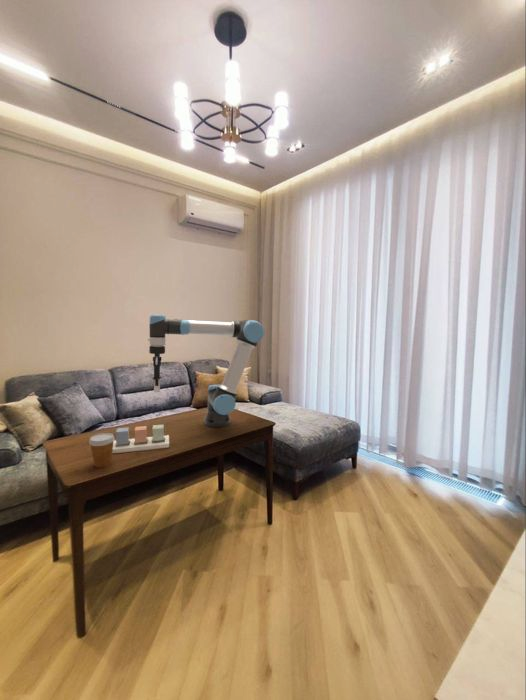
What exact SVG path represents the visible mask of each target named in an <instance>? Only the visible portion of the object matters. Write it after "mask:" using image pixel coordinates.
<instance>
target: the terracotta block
mask: <svg viewBox="0 0 526 700" xmlns="http://www.w3.org/2000/svg"><path fill="white" fill-rule="evenodd" d="M147 428H148V426H147V425H143V426H135V427H134V438H135V443H137V442H146V439H147V437H148V435H147V432H148V431H147Z"/></svg>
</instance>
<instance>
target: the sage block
mask: <svg viewBox="0 0 526 700" xmlns="http://www.w3.org/2000/svg"><path fill="white" fill-rule="evenodd" d="M164 427H165V425H164V424H155V425H154V424H153V425H152V437H153V441H157V440H164V436H165V431H164V430H165V428H164Z"/></svg>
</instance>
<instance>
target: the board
mask: <svg viewBox="0 0 526 700" xmlns="http://www.w3.org/2000/svg"><path fill="white" fill-rule="evenodd" d="M161 449H170V435H169V434H167V435H165V434H164V440H157V441H153V436H147V439H146V442H137V443H135V437H133V438H129V442H128V443H127V444H117V445H116V439H114V441H113V450H112V455H113V454H115V455H116V454H124V453H130V452H131V453H132V452H141V451H142V452H143V451H150V450H151V451H152V450H161Z"/></svg>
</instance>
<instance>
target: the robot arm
mask: <svg viewBox="0 0 526 700" xmlns="http://www.w3.org/2000/svg"><path fill="white" fill-rule="evenodd" d="M189 334H190V335H191V334H192V335H193V334H194V335H195V334H196V335H212V336H214V335H215V336H229V337H231V338H236V342H237V345H236V347H235V349H234V353H233V355H232V357H231V360H230V363H229V364H228V367H227V370H226V372H225V375H224V377H223V378H222V379H223V380H222V382H221V384H210V385H208V387H207V391H206V392H207V411H206V415H205V417H204V424H205V425H206V426H207V427H211V428H221V427H226V426H228V425H230V424H231V416H230V414H231V413H233V411H234V410H235V408H236V398H237V396H238V390H237V389H238V386H239V384H240V381H241V379H242V376H243V374H244V371H245V369H246V366H247V364H248V362H249V358H250V355H251V354H252V351H253V349H255V348H257V346H258V343H259V342H260V341H262V339H263V338H264V335H265V329H264V327H263V324H262V323H260V321H257V320H254V319H245V320H231V321H230V322H228V321H227V322H226V321H213V320H210V321H208V320H194V319H193V320H191V319H178V318H174V319H170V318H169V319H168V318H166V315H163V314H162V315H161V314H151V315H150V317H149V338H148V339H147V341H149V345H150V346H149V347H148V348H149V350H148V352H149V354H152V355H154V356H153V357H152V361H153V378H152V380H153V392H154V393H160V392H161V391H160V390H161V385H160V383H161V379H162V376H161V364H162V356H161V355H164V354H166V346H165V345H166V335H182V336H183V335H186V336H187V335H189Z"/></svg>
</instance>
